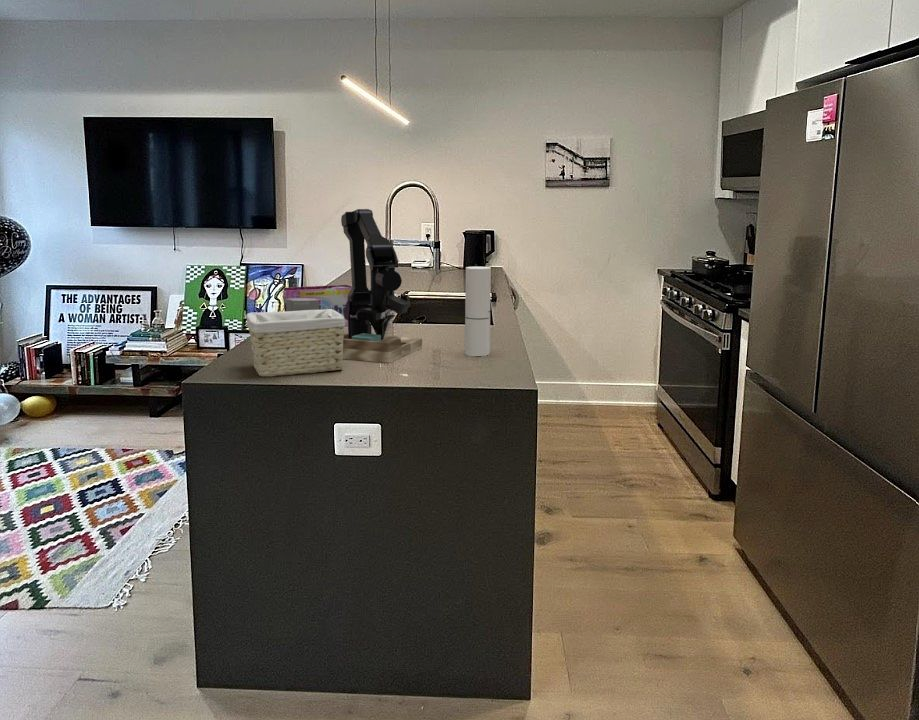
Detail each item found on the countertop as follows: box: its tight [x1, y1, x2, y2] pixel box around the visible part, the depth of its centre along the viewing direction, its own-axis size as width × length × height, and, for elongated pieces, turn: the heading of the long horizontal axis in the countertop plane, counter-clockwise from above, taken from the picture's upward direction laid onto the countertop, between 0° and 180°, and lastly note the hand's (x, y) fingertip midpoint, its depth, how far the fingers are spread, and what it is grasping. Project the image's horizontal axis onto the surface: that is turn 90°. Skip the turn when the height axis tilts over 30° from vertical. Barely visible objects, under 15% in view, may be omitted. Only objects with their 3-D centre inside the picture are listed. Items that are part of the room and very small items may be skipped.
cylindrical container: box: [464, 266, 492, 357], centre depth 234 cm, size 7×7×25 cm
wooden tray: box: [343, 333, 423, 364], centre depth 237 cm, size 18×22×6 cm
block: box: [352, 333, 381, 342], centre depth 232 cm, size 6×6×3 cm
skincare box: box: [286, 298, 319, 311], centre depth 236 cm, size 8×7×16 cm
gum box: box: [282, 284, 352, 328], centre depth 279 cm, size 24×8×14 cm, turn 114°
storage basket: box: [245, 309, 345, 378], centre depth 215 cm, size 24×16×15 cm
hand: (381, 339), depth 239 cm, fingers closed
